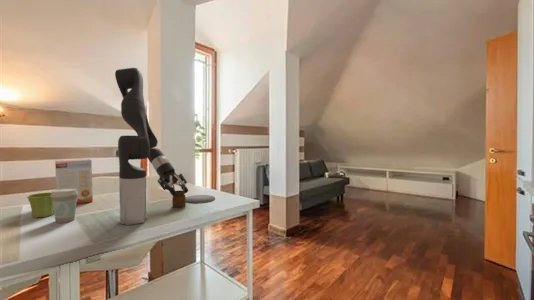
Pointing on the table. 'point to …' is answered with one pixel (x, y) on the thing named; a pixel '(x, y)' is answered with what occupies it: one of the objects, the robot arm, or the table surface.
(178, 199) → the utensil holder
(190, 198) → the charcoal mat
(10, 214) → the table surface
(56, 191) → the coffee cup
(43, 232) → the table surface
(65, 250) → the table surface
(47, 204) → the plant pot
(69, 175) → the cracker box
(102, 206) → the table surface
